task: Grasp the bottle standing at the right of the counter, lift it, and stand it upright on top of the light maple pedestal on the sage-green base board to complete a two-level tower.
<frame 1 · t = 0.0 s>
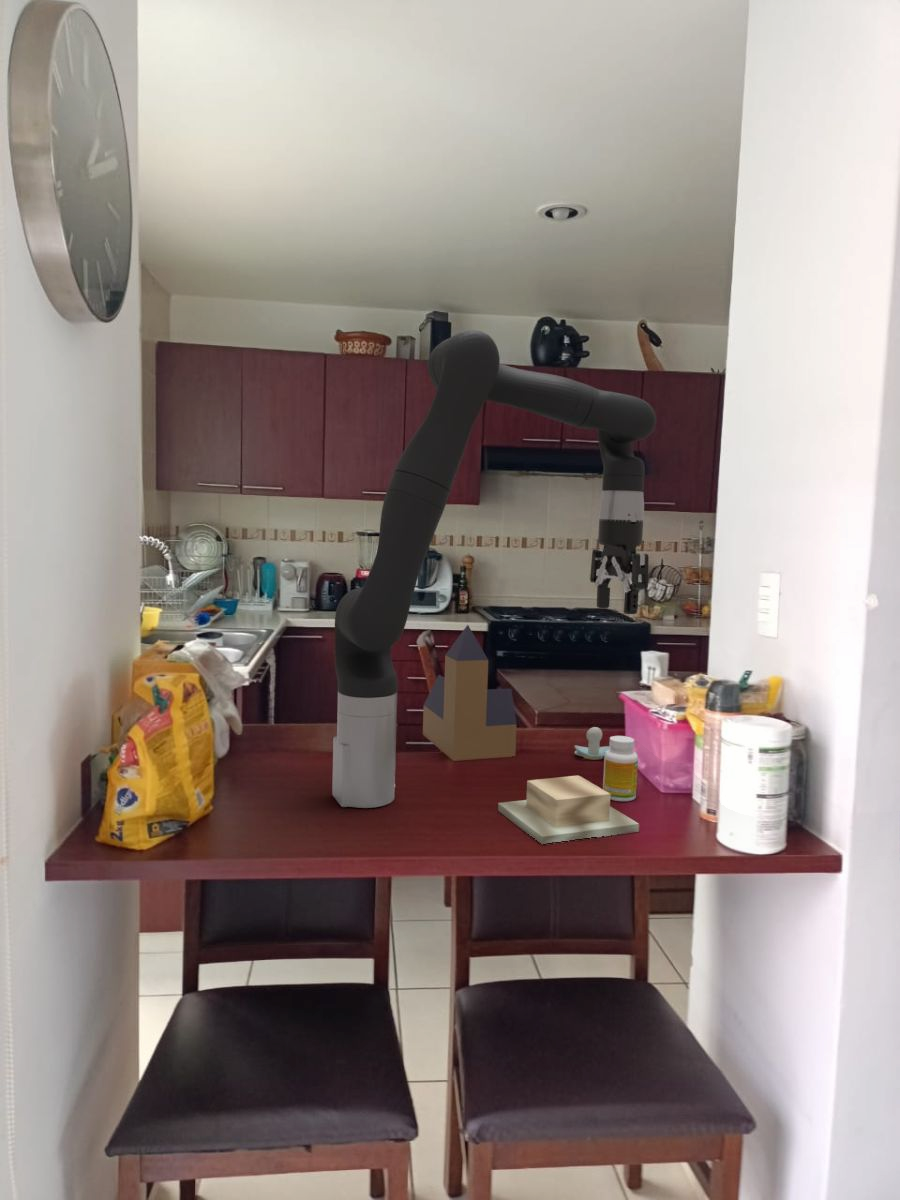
hand: (616, 610, 144), 29 cm above the breakfast bar, fingers open, 8 cm apart
pedestal base: (566, 820, 124), on the breakfast bar
toy building blocks: (467, 746, 163), on the breakfast bar
pacifier: (592, 758, 158), on the breakfast bar
supplement bottle: (619, 797, 135), on the breakfast bar
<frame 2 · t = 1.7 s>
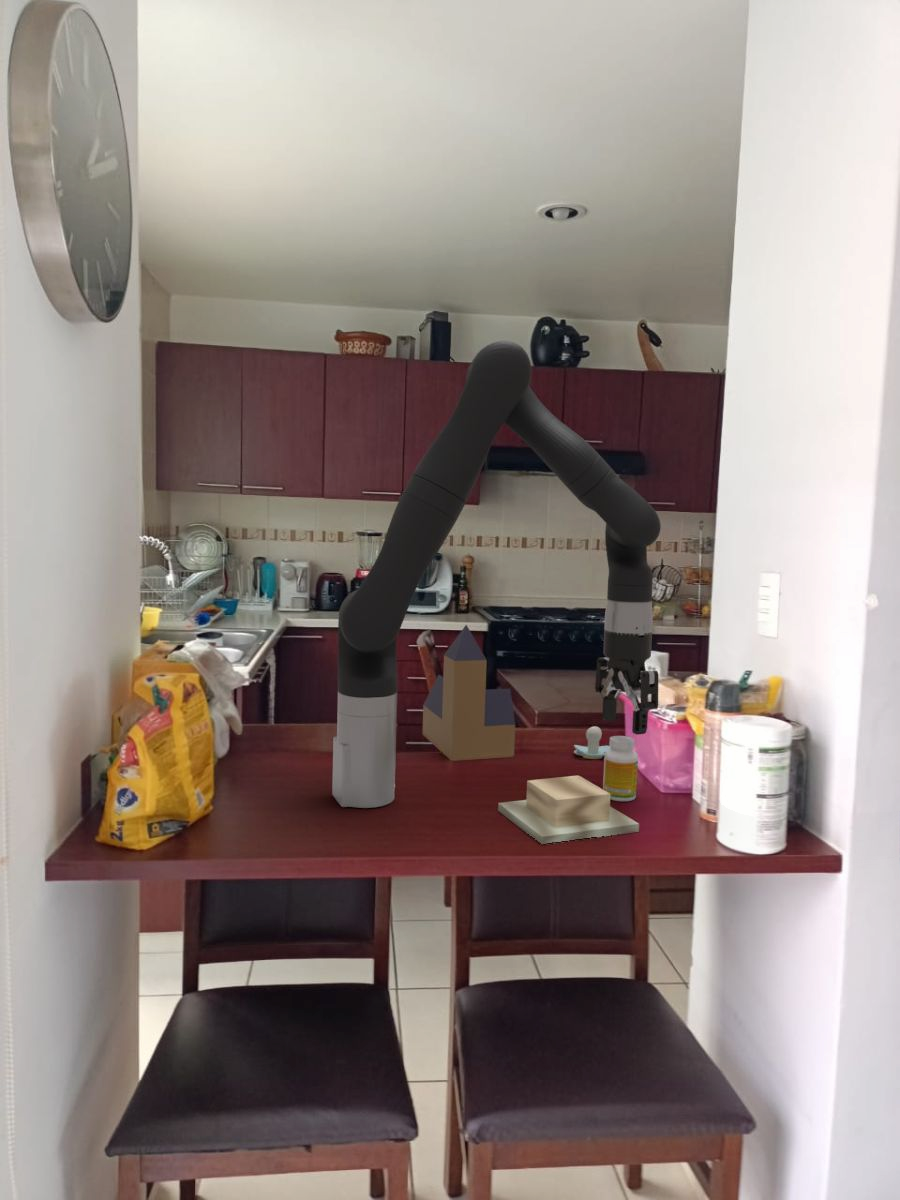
hand: (623, 727, 134), 12 cm above the breakfast bar, fingers open, 8 cm apart
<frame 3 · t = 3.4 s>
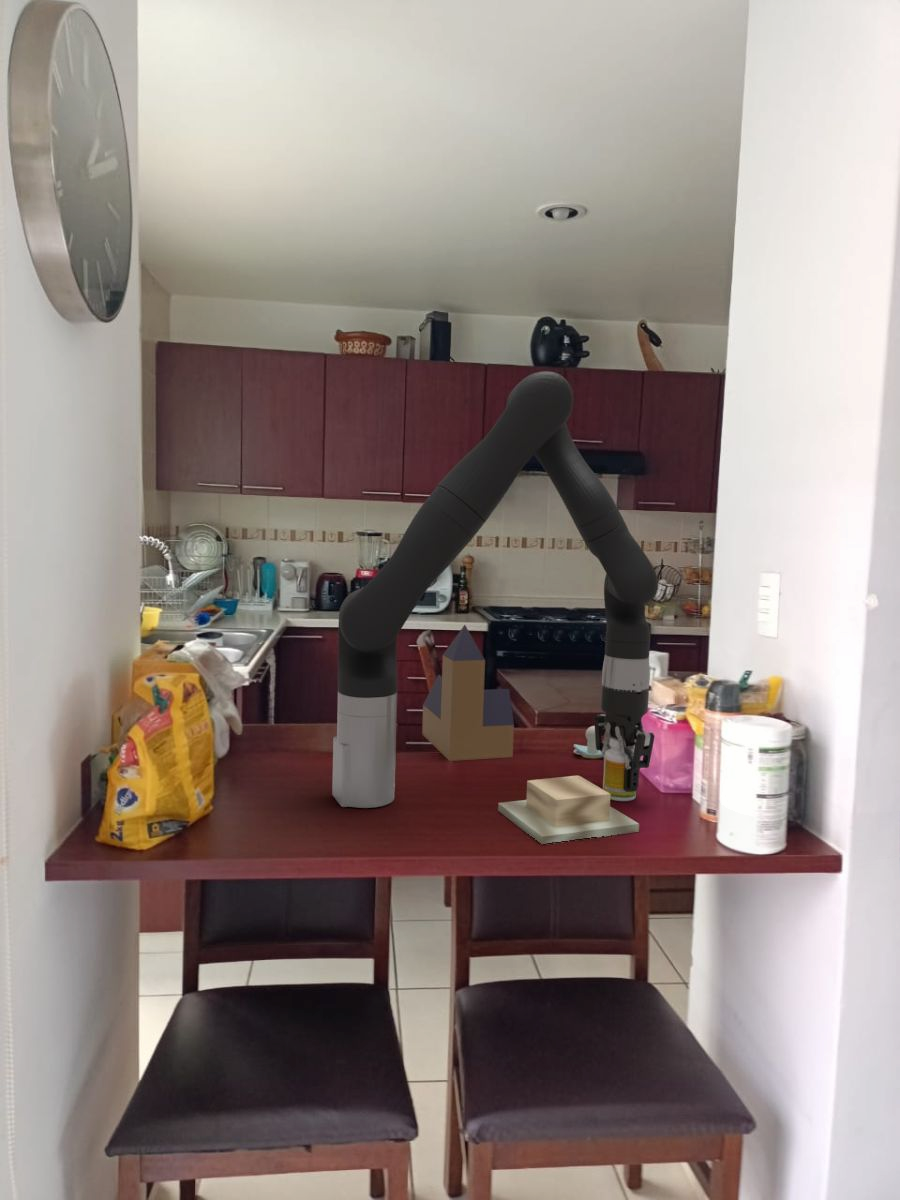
hand: (619, 784, 135), 2 cm above the breakfast bar, fingers closed on supplement bottle, 5 cm apart
supplement bottle: (619, 797, 135), on the breakfast bar, touching gripper
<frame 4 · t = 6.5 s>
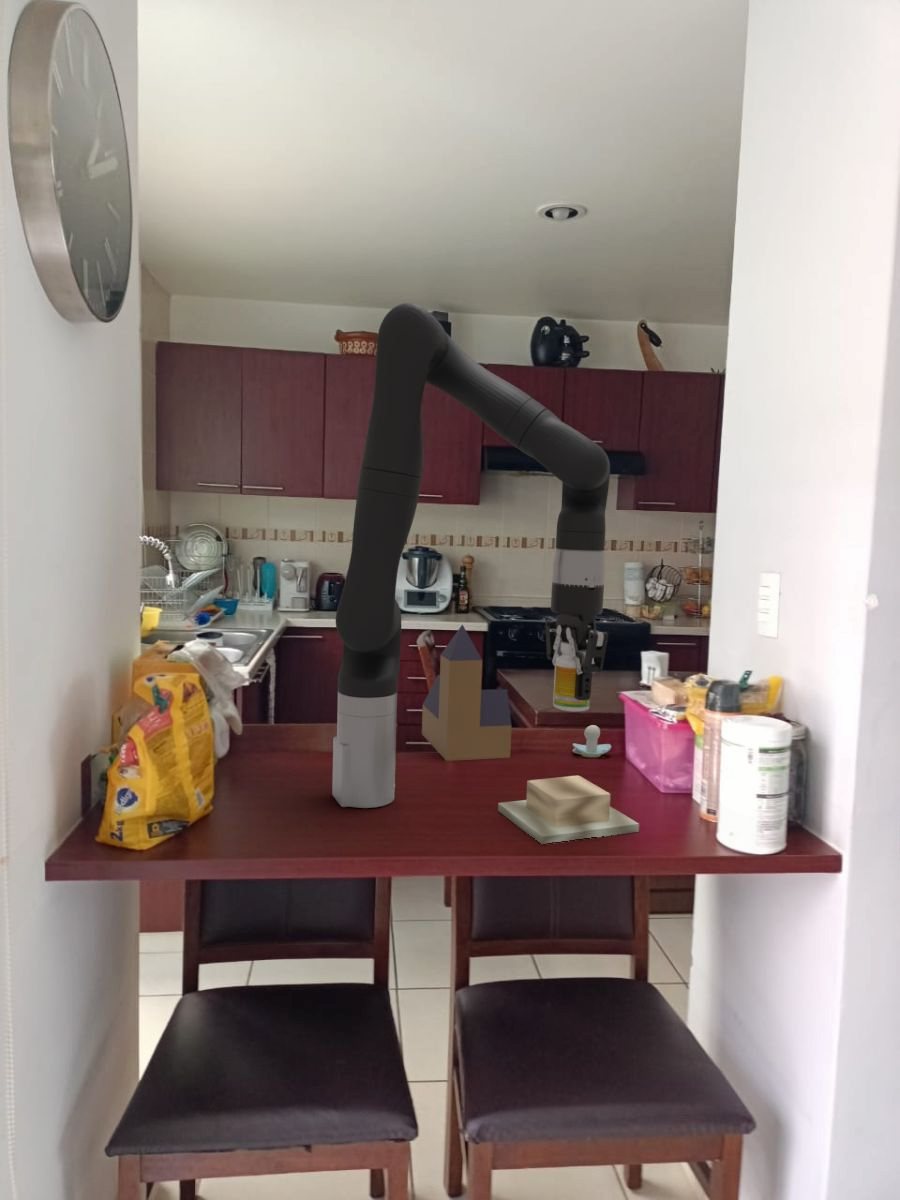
hand: (571, 694, 122), 19 cm above the breakfast bar, fingers closed on supplement bottle, 5 cm apart
supplement bottle: (571, 709, 122), point 17 cm above the breakfast bar, touching gripper
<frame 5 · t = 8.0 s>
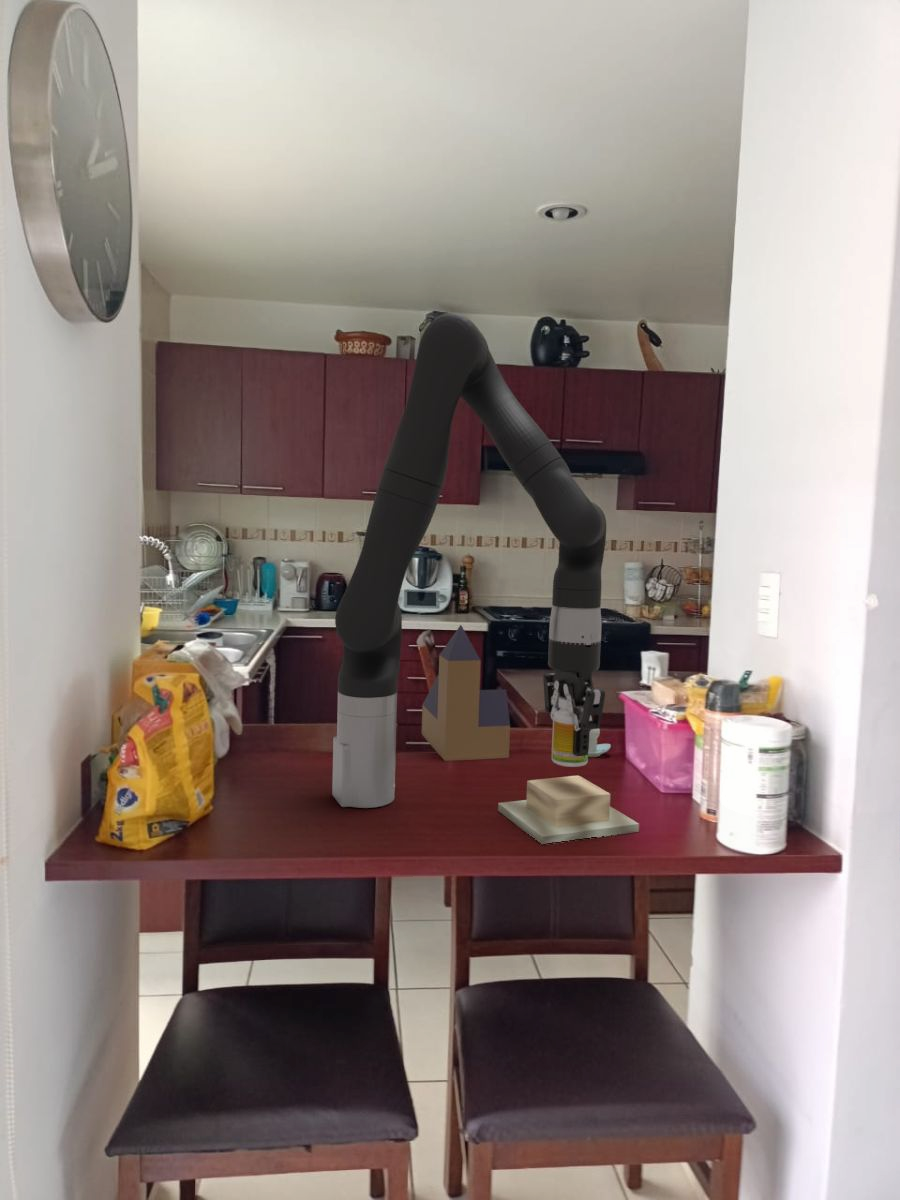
hand: (569, 749, 123), 11 cm above the breakfast bar, fingers closed on supplement bottle, 5 cm apart
supplement bottle: (569, 763, 123), point 9 cm above the breakfast bar, touching gripper
when the fingers open (8 cm above the breakfast bar, at t = 9.5 s): supplement bottle stays where it is, resting on pedestal base.
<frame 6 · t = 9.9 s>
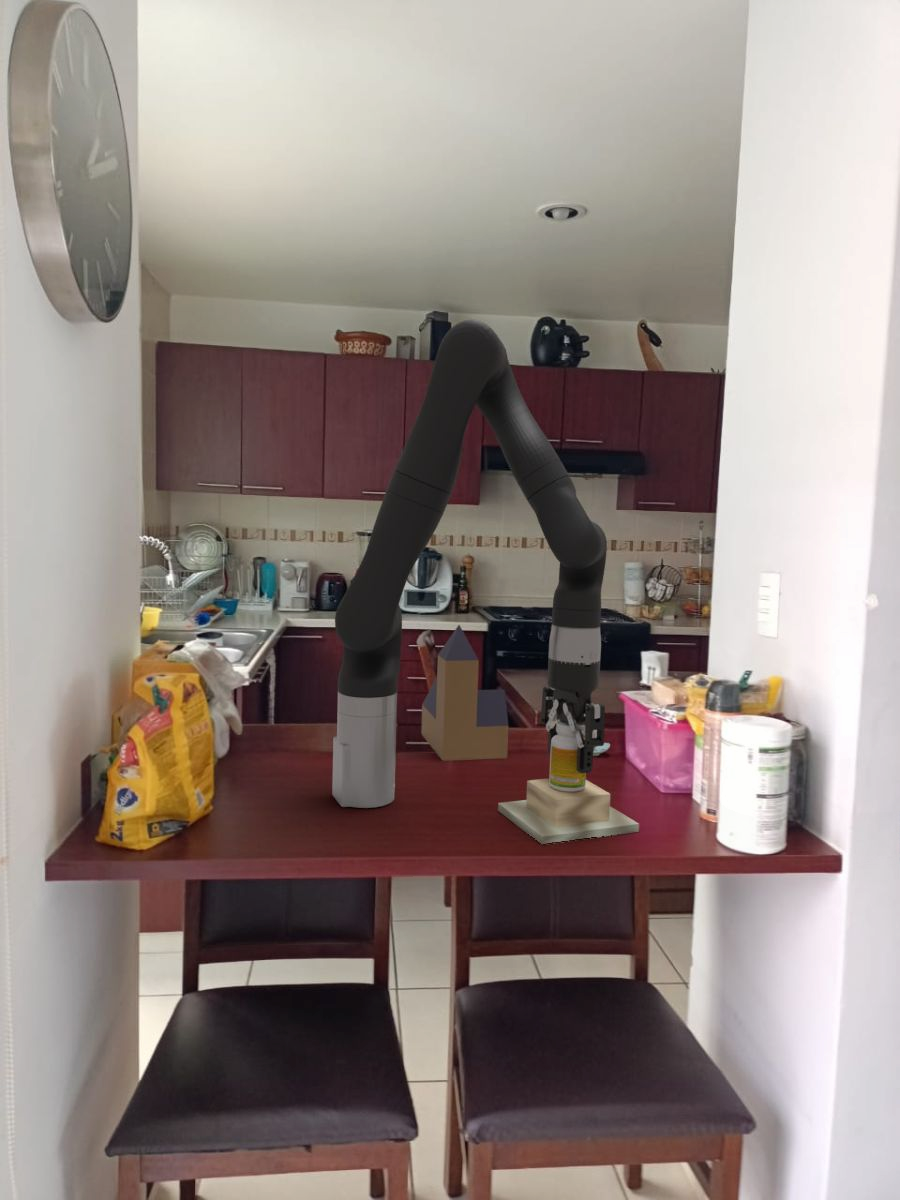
hand: (569, 763, 123), 9 cm above the breakfast bar, fingers open, 8 cm apart
supplement bottle: (567, 788, 123), point 5 cm above the breakfast bar, touching pedestal base
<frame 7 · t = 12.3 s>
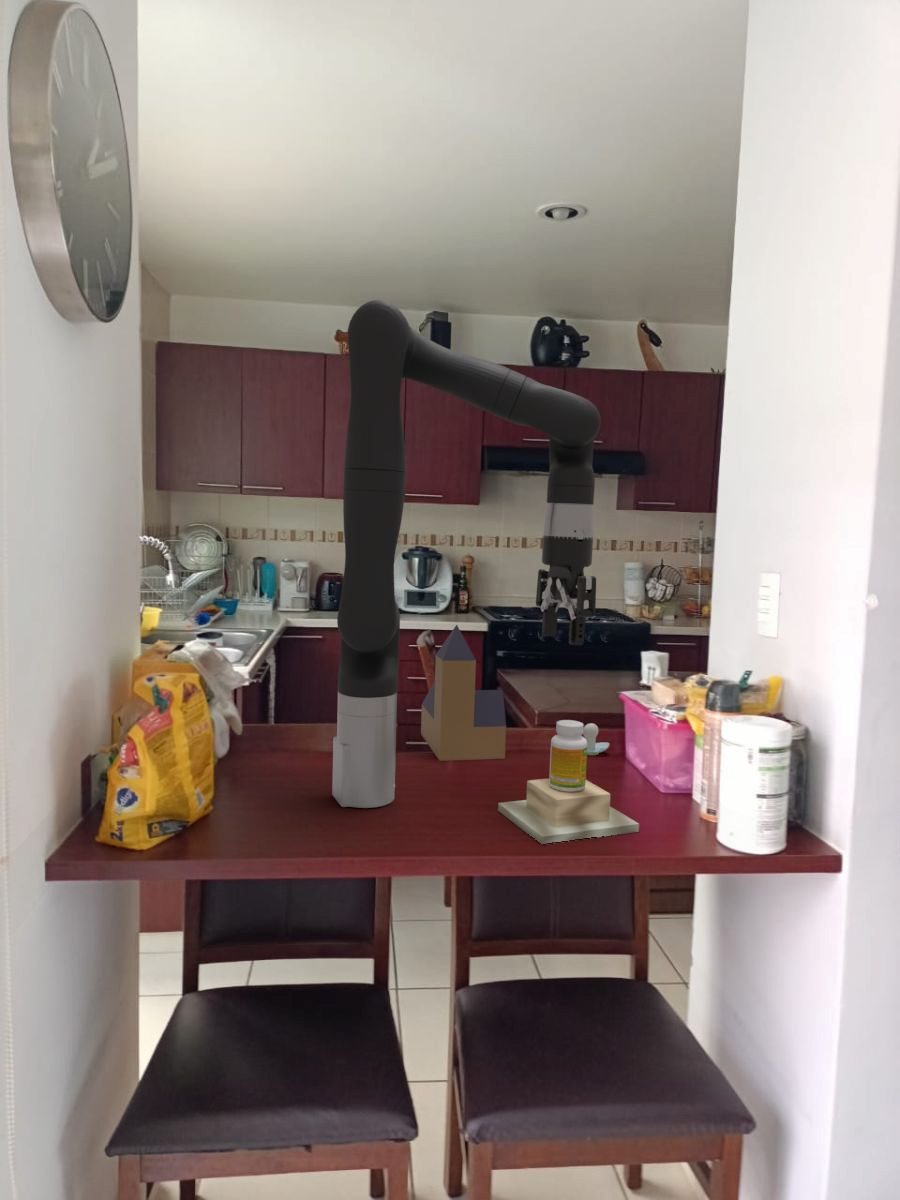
hand: (562, 640, 126), 26 cm above the breakfast bar, fingers open, 8 cm apart
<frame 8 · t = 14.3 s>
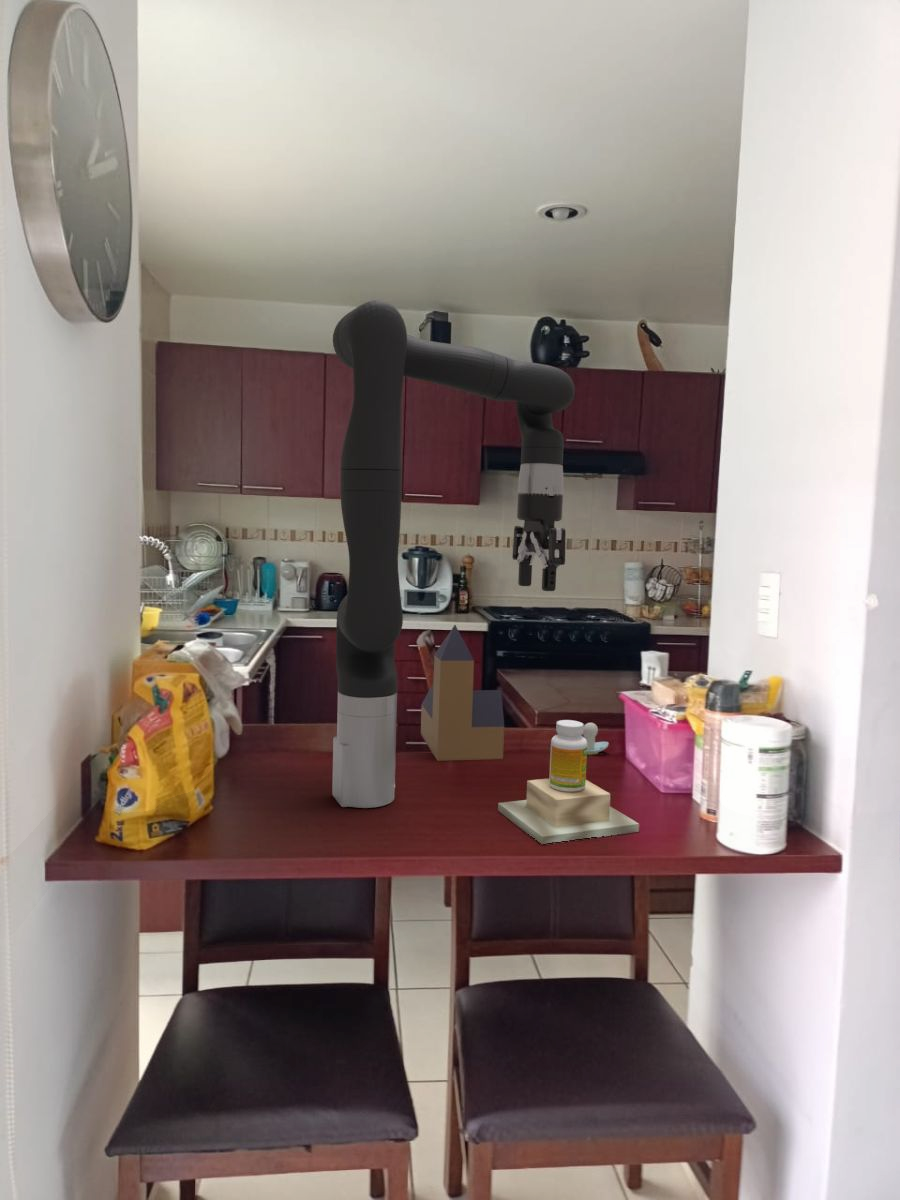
hand: (536, 588, 140), 33 cm above the breakfast bar, fingers open, 8 cm apart
at the end: supplement bottle 0.2 cm off-centre on the pedestal base, point 5.0 cm above the pedestal base's base; supplement bottle tilted 0°; the gripper is holding nothing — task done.
